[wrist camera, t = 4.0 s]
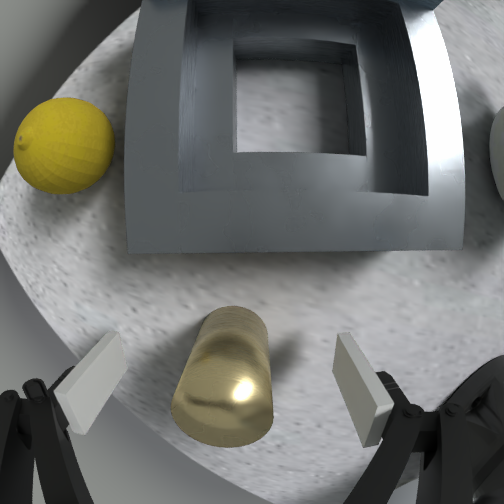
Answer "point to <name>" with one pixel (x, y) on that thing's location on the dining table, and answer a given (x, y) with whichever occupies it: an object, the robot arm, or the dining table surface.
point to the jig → (292, 163)
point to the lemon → (64, 146)
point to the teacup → (498, 151)
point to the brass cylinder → (226, 381)
